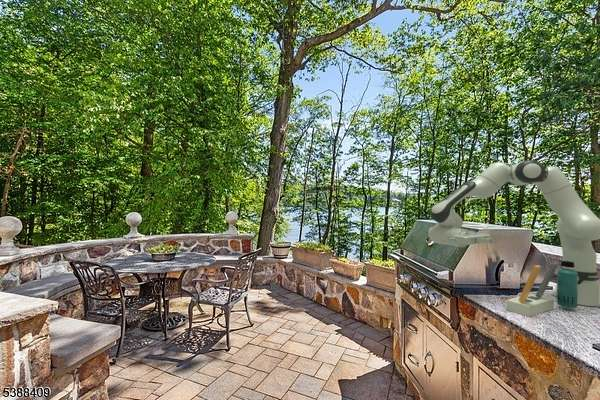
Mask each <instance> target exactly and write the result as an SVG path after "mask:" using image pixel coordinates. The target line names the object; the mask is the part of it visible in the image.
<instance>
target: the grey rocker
mask: <svg viewBox="0 0 600 400" xmlns="http://www.w3.org/2000/svg"><path fill="white" fill-rule="evenodd" d="M558 266H559V263H558V262H551V264H550V266H549V268H548V270H547V271H546V273H545V276H544V278H543V280H542V282H541V284H540V286H539V287H538V289H537V291H536V293H535V296H537V297H542V296H543V295H544V293H545V292H546V290H547V287H548V286H549V284H550V282H551V280H552V278H553V276H554V274H555V272H556V270H557V268H558ZM543 297H544V296H543Z"/></svg>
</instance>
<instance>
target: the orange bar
mask: <svg viewBox="0 0 600 400" xmlns="http://www.w3.org/2000/svg"><path fill="white" fill-rule="evenodd" d="M541 269H542V265H539V264H537V265H536V264H535V265H533V267H532V269H531V271H530V274H529V275H528V277H527V280H526V282H525V284H524V287H523V289H522V291H521V293H520V295H519V296H520V298H519V300H518V301H520V302H521V303H522V302H525V301H526V299H527V297H528V295H529V294H530V293H531V290H532V288H533V286H534V283H535V282H536V279H537V277H538V275H539V273H540V272H541V271H540V270H541Z"/></svg>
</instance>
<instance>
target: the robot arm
mask: <svg viewBox="0 0 600 400" xmlns="http://www.w3.org/2000/svg"><path fill="white" fill-rule="evenodd" d="M505 184H510V185H512V186H517V187H520V186H526V185H527V186H528V185H530V184H533V185H535V186H536V187H537V188H538V189H539V192H540V193H541V194H542V196H543V198H544V200H545V201H546V203H547V205H548V206H549V208H550V210H551V211H553V212H554V213H555V214H556V215H557V216H558V220H557V221H556V223H555V227H556V230H557V232H558V235H559V241H560V244H561V250H562V261H570V262H574V266H575V267H573V268H572V267H564V266H561V268H560V269H562V268H564V269H571V270H574V271H576V272H577V273H578V279H577V294H578V295H577V296H578V297H577V302H578V303H577V305H581V306H588V307H598V308H600V281H599V279H600V278H599V274H600V272H599V271H598V270H597V259H598V258H597V252H596V251H595V249H594V247H593V243H592V242H593V241H598V240H600V218H599V217H598V216H597V215H596V214H595V213H594V211H592V210H591V208H590V207H589V206H588V205H587V204H586V203H585V202H584V201H583V200H582V198H581V197H580V196H579V194H578V193H577V191H576V190H575V188H574V186H573V185H572V183H571V181H570V180H569V178H568V177H567V176H566V175H565V173H564V172H563V171H562V170H561V169H560V168H558V167H557V166H552V165H551V166H550V165H549V166H545V165H544V164H542V163H540V162H539V161H537V160H532V159H527V160H523V161H520V162H517V163H515V164H513V165H511V166H510V165H507V164H506V163H504V162H499V161H498V162H494V163H492V164H491V165H489V166H488V167H486V168H485V169H484V170H483V171H482V172H481V173H480V174H479V175H478V176H476V177H475V178H474V179H472V180H470V181H469V180H468V181H465V182H464V183H462V184H461V185H459V186H458V187H457V188H455V189H454V190H453V191H451V192H450V193H449V194H448V195H447V196H445V197H444V198H443V199H441V200H440V201H437V203H435V204H434V205H432V207H431V208H430V211H429V216H430V218H431V219H432V220H433V221H435V222H436V224H435V225H434V226H431V227H430V228H428V232H427V233H428V238H429V239H430V240H431V242H433V243H436V244H439V245H444V246H445V245H446V246H449V245H450V246H453V247H458V248H459V247H460V248H465V247H467V246H470V245H471V246H472V245H479V244H492V243H493V239H492V235H490V234H488V233H483V232H476V231H475V230H468V229H466V228H462V226H463V224H464V221H463V218H462V217H461V216H460V215H459V214H458V213H457V212H456V211H455V210H453V209H454V207H455V206H456V205H457V204H458V203H461V202H462V201H463V200H464V199H466V198H467V197H475V198H477V199H478V198H479V199H487V198H491V197H492V196H494V195H495V194H496V193H497V192H498V191H499V190H500V189H501V188H502V187H503V186H504V185H505ZM551 295H553V296H554V297H556V298H557V286H556V289H555V292H552V294H551Z"/></svg>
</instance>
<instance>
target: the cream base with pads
mask: <svg viewBox="0 0 600 400" xmlns="http://www.w3.org/2000/svg"><path fill="white" fill-rule="evenodd" d="M535 295H536V293H535V294H534V293H532V292H530V293H529V295H528V297H527V299H526V301H525V302H522V303H521V302H520V301H518V300H519V298H520V296H521V295H519V296H517V297H513V298H510V299H506V300H505V301H506V304H505V305H506V307H505V308H506V309H505V310H506V311H508V312H513V313H514V314H515V313H516V314H517V315H521V316H525V317H527V318H530V317H533V316H536V315H538V314H541V313H543V312H547V311H549V310H552V309H554V298H551V297H547V296H542V297H537V296H535Z"/></svg>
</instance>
